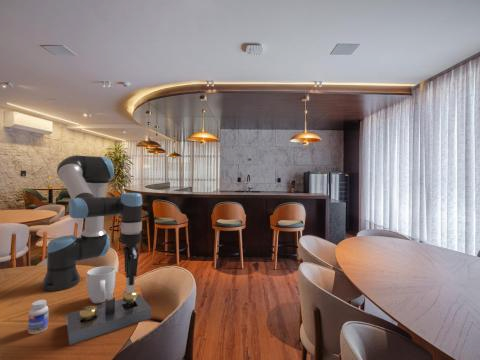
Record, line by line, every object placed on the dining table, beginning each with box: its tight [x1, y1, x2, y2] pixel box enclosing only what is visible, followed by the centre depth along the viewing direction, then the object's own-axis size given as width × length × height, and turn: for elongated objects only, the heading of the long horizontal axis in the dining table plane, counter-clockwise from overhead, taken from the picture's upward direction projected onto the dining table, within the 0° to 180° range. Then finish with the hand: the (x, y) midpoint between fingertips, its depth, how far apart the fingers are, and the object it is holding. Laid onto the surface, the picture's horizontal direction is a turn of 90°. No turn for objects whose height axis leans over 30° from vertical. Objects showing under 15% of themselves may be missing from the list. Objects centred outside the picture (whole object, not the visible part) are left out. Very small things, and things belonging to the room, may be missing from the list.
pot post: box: [104, 293, 116, 313], centre depth 92 cm, size 3×3×6 cm
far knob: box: [122, 289, 138, 309], centre depth 97 cm, size 5×5×6 cm
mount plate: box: [66, 294, 152, 347], centre depth 92 cm, size 14×26×4 cm, turn 128°
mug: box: [86, 265, 116, 304], centre depth 107 cm, size 15×11×13 cm
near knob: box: [79, 305, 97, 322], centre depth 88 cm, size 5×5×6 cm
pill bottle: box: [27, 299, 49, 335], centre depth 86 cm, size 5×5×10 cm
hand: (130, 292), depth 96 cm, fingers closed
